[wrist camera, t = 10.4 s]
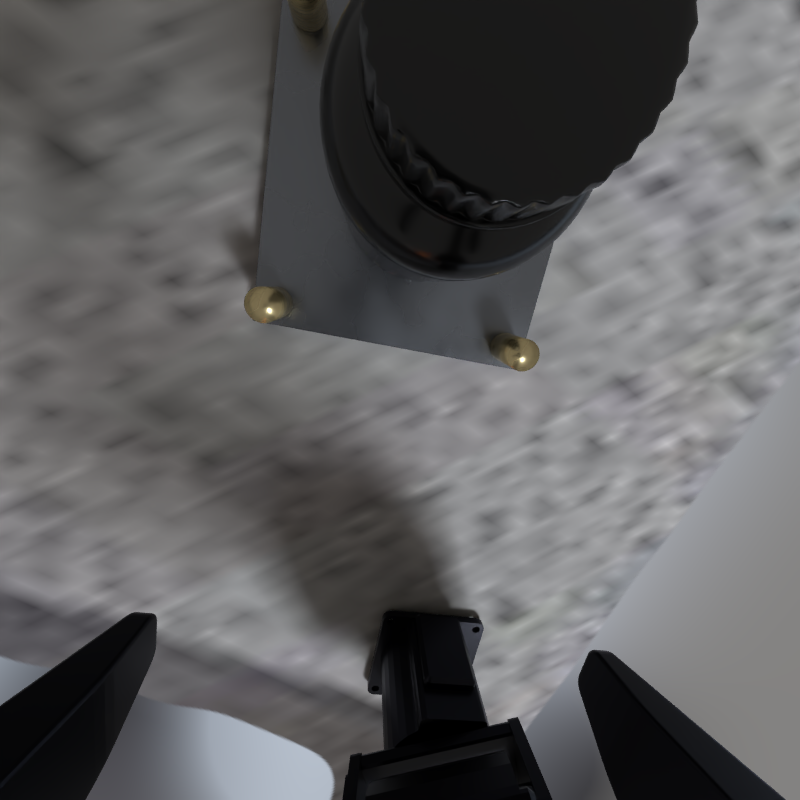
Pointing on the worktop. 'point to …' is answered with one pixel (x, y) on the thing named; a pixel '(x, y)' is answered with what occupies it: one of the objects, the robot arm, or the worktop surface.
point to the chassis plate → (340, 253)
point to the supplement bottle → (488, 120)
